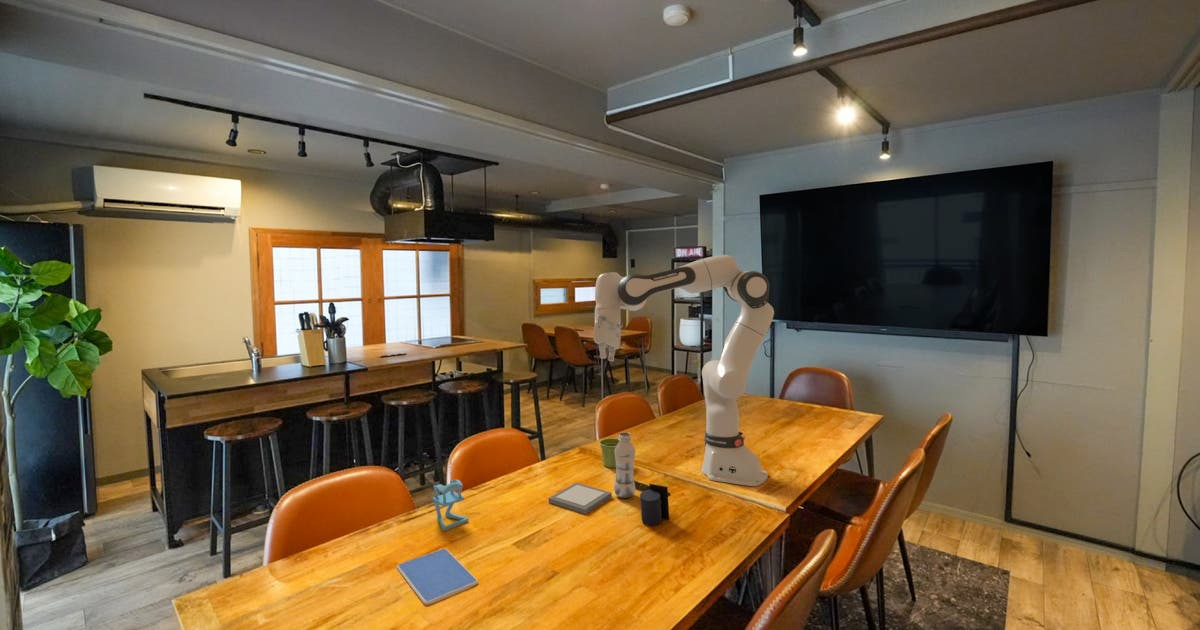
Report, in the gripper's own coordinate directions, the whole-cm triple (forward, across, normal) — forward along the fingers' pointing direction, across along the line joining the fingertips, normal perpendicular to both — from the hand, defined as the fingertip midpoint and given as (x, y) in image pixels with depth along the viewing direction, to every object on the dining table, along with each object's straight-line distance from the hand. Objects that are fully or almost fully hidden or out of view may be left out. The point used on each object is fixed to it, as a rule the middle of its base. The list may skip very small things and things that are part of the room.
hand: (607, 359), depth 172 cm
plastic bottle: (+44, 0, -6) cm, 44 cm away
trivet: (+44, -7, +6) cm, 45 cm away
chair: (+49, -30, +38) cm, 69 cm away
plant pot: (+37, +23, +4) cm, 44 cm away
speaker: (+48, -14, -18) cm, 53 cm away
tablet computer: (+56, -52, +26) cm, 81 cm away
